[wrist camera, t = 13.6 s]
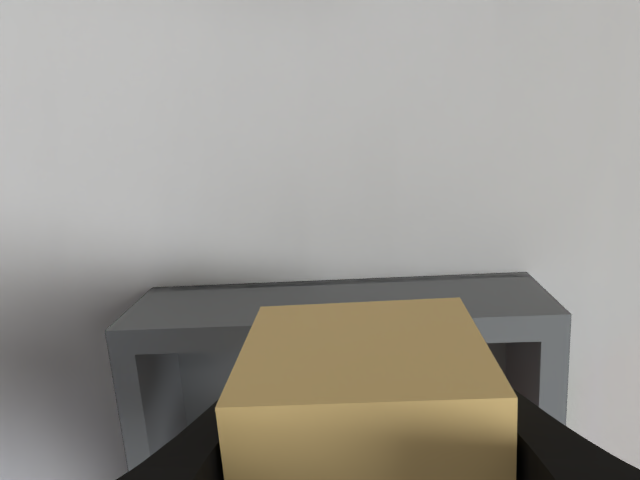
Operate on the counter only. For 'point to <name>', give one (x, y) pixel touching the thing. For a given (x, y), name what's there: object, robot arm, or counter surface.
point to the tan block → (367, 396)
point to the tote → (246, 299)
